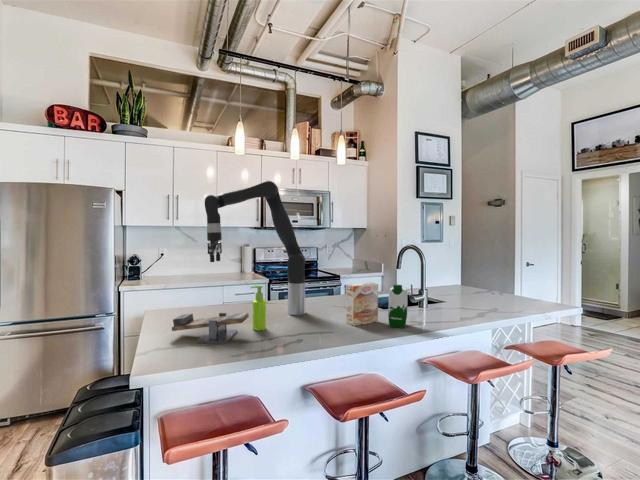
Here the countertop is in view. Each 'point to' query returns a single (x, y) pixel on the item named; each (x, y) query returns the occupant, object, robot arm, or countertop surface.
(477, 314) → the countertop surface
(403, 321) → the milk carton
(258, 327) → the soap dispenser
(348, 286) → the coffeecake box
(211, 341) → the seesaw stand
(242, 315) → the seesaw board
